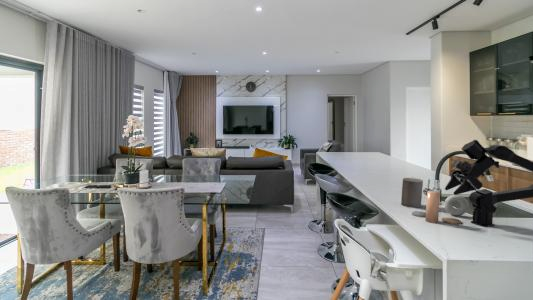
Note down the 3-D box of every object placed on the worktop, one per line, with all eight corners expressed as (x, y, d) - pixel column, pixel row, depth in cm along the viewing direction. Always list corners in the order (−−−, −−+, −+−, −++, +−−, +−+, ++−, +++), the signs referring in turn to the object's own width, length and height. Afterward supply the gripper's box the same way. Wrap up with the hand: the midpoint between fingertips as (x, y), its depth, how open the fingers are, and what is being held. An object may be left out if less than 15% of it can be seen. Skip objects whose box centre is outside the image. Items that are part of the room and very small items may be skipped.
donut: (443, 215, 153) (445, 194, 152) (443, 213, 156) (444, 192, 155) (468, 217, 149) (470, 196, 148) (467, 215, 152) (468, 194, 151)
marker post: (440, 222, 142) (442, 193, 141) (432, 223, 140) (434, 193, 139) (431, 219, 147) (433, 190, 145) (422, 220, 145) (424, 191, 144)
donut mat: (465, 223, 141) (465, 221, 141) (452, 224, 139) (452, 223, 139) (449, 218, 148) (450, 216, 148) (437, 219, 146) (437, 218, 146)
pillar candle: (397, 204, 171) (399, 176, 169) (406, 201, 177) (408, 174, 175) (415, 209, 163) (417, 179, 162) (424, 205, 170) (426, 177, 168)
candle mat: (433, 216, 151) (433, 215, 151) (420, 217, 148) (421, 216, 148) (420, 211, 158) (420, 210, 158) (408, 213, 155) (408, 212, 155)
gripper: (456, 151, 148) (429, 174, 151) (476, 156, 130) (444, 182, 132) (473, 169, 148) (446, 192, 150) (496, 176, 129) (464, 202, 132)
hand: (449, 191), depth 141 cm, fingers open, 9 cm apart
